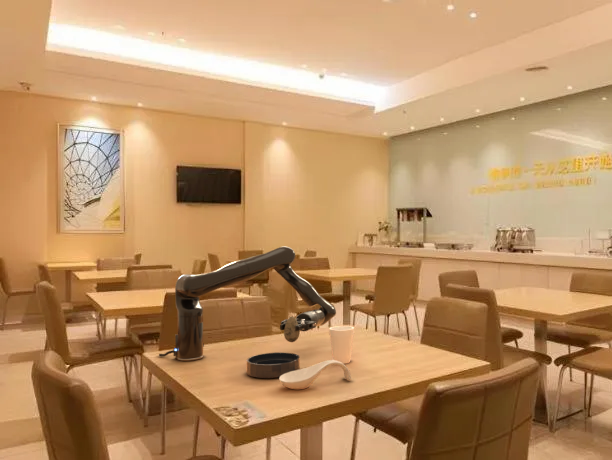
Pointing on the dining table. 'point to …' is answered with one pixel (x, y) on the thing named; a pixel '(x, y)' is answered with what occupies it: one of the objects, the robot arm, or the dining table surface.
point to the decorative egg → (291, 330)
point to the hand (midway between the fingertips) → (288, 328)
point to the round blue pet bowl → (272, 364)
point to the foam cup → (341, 342)
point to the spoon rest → (309, 375)
